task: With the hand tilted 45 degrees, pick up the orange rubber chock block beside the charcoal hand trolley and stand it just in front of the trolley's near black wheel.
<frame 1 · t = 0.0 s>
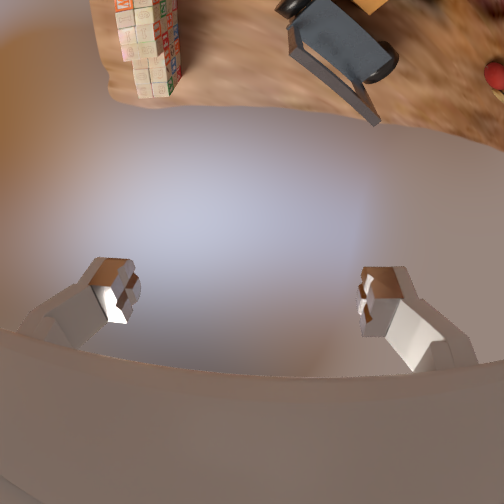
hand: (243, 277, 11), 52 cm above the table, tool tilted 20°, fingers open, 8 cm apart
kendama: (503, 86, 42), on the table
trolley: (335, 23, 41), on the table
stack of blocks: (163, 31, 45), on the table
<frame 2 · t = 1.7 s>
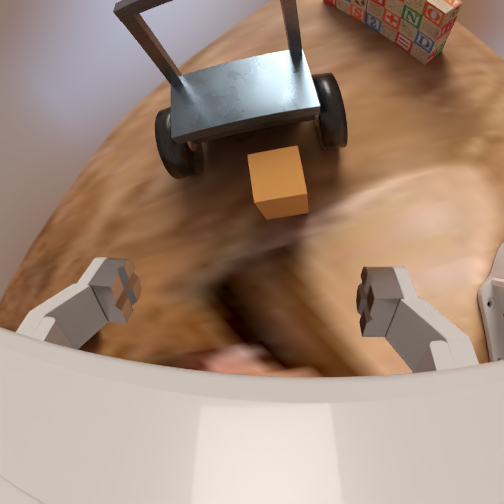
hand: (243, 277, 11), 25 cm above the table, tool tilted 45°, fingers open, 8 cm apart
trolley: (258, 140, 38), on the table
chock: (284, 196, 36), on the table
stack of blocks: (381, 23, 37), on the table
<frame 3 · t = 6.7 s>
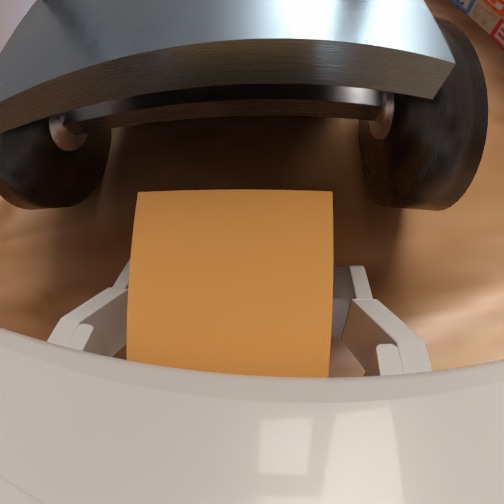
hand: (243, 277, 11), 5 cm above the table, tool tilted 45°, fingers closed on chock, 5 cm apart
trolley: (224, 145, 16), on the table
chock: (254, 296, 15), on the table, touching gripper
stack of blocks: (467, 5, 17), on the table
when the fingers open (6 cm above the table, at t = 11.5 s): chock drops 2 cm, on the table.
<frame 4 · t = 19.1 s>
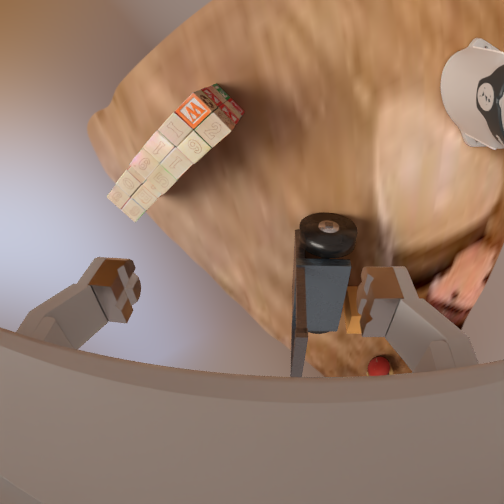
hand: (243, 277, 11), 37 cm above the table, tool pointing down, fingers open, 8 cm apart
kendama: (379, 368, 77), on the table
trolley: (320, 260, 56), on the table
chock: (356, 295, 60), on the table
stack of blocks: (182, 142, 45), on the table
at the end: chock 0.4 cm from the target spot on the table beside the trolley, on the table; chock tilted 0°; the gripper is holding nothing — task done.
